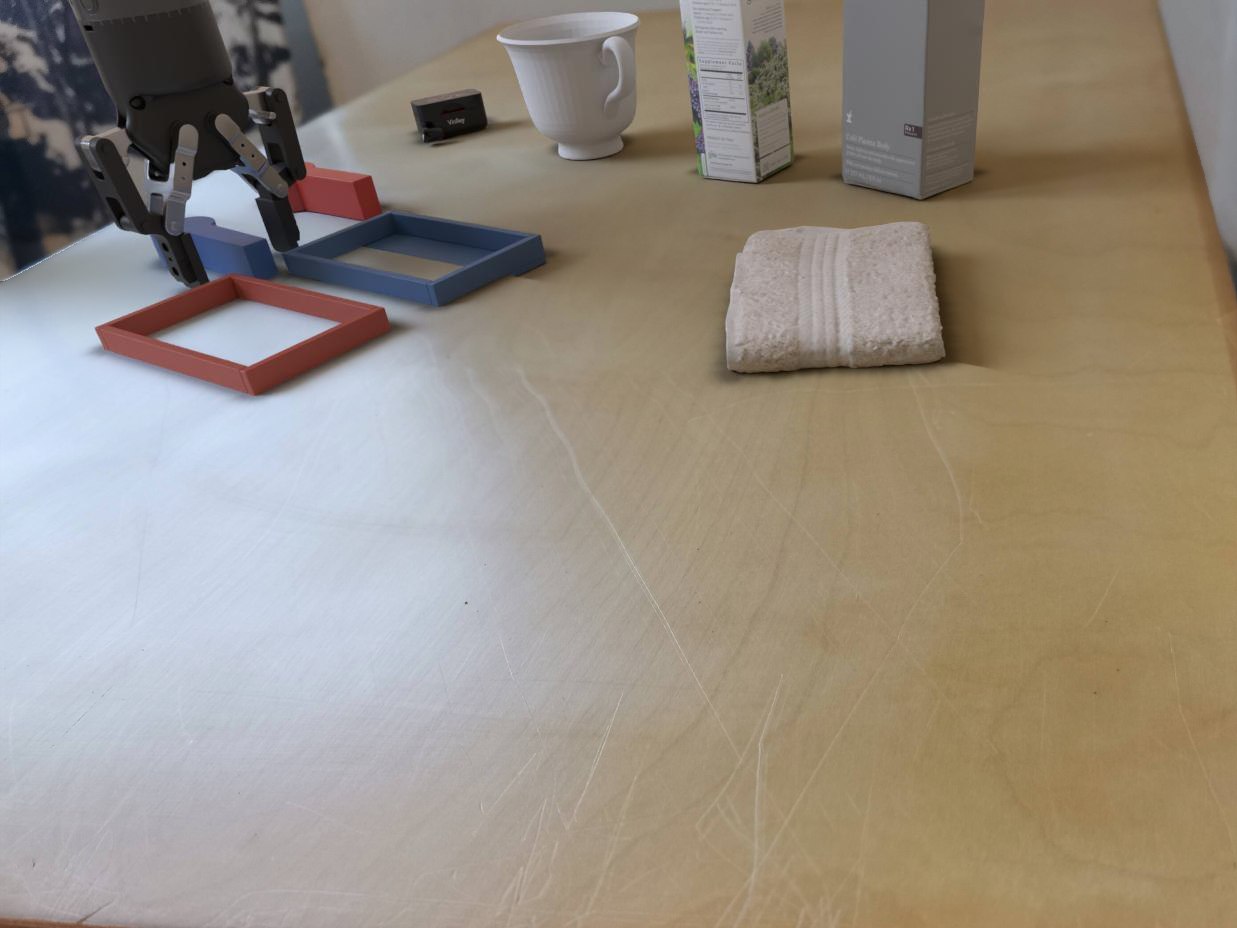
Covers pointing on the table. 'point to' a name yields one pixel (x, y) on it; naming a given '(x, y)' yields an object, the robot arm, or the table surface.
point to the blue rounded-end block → (227, 249)
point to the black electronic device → (449, 114)
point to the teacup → (577, 78)
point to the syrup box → (738, 87)
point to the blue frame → (419, 255)
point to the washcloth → (834, 299)
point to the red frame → (130, 341)
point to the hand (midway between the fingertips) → (243, 268)
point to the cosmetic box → (910, 93)
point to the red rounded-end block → (335, 193)
